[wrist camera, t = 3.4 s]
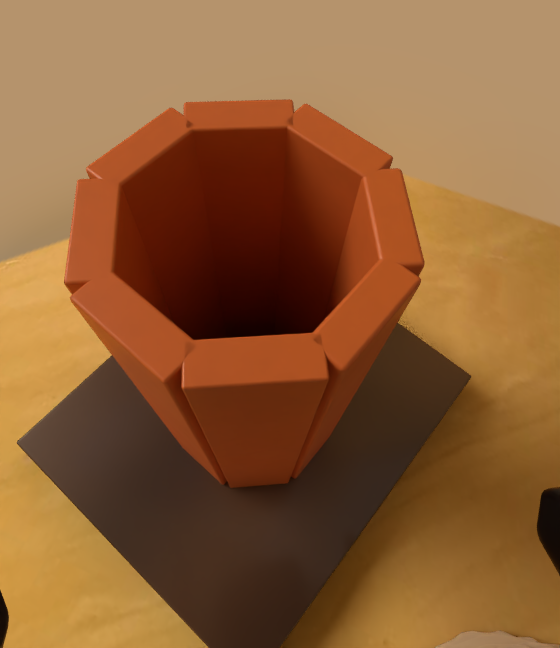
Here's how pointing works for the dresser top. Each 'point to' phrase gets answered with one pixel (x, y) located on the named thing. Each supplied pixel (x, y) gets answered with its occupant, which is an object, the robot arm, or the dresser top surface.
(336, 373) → the octagonal orange vase
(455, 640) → the decorative ornament
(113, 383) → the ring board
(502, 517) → the dresser top surface
